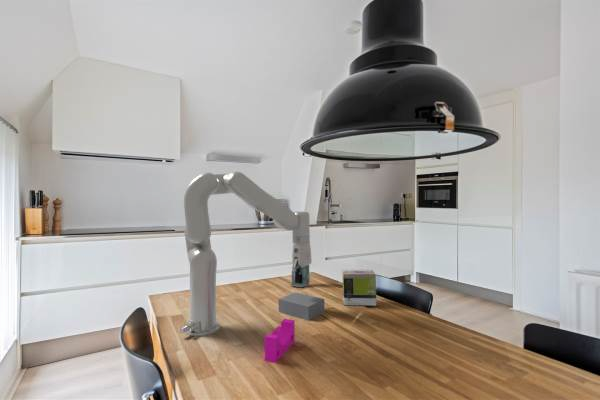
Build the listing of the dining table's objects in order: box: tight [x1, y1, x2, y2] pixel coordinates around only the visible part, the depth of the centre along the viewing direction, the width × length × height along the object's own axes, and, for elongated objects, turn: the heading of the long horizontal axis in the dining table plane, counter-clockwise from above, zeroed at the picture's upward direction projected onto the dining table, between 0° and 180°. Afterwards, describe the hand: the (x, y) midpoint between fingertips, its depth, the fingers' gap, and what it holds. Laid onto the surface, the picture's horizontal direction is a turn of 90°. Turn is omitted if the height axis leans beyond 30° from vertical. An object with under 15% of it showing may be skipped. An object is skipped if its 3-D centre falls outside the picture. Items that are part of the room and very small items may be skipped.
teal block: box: [294, 264, 311, 287], centre depth 135 cm, size 5×5×8 cm
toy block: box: [264, 318, 296, 363], centre depth 102 cm, size 15×6×8 cm, turn 159°
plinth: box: [278, 292, 325, 321], centre depth 135 cm, size 12×16×6 cm
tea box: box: [341, 269, 377, 307], centre depth 147 cm, size 15×10×15 cm, turn 84°
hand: (301, 280), depth 135 cm, fingers closed on teal block, 5 cm apart
